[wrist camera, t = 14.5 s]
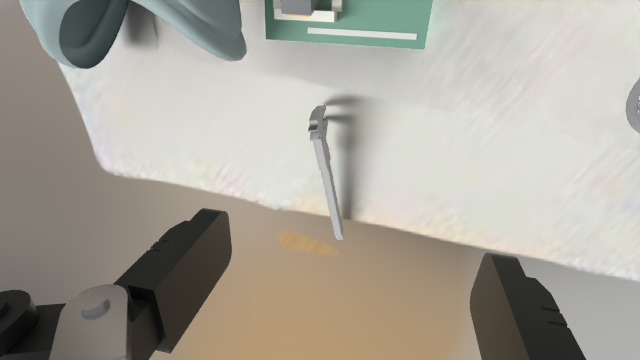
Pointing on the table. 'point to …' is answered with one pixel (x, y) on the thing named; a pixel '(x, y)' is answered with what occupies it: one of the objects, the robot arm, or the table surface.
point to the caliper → (325, 165)
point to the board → (354, 23)
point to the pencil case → (107, 16)
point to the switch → (299, 7)
